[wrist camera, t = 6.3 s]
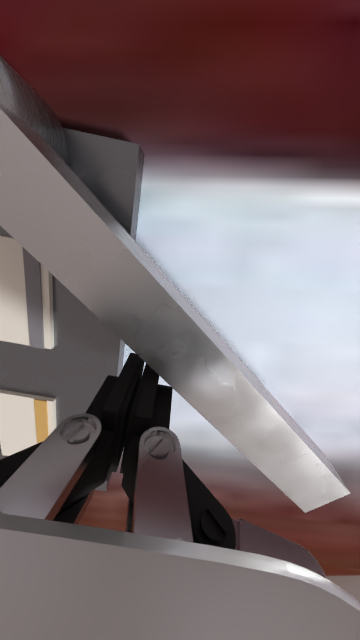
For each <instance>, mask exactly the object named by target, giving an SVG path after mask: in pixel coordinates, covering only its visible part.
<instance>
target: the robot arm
mask: <svg viewBox="0 0 360 640" xmlns="http://www.w3.org/2000/svg"><path fill="white" fill-rule="evenodd" d="M143 367H144V360H143V359H141V358H140V357H139V356H138V355H137V354H135V353H130V355H129V357H128V359H127V361H126V363H125V365H124V367H123V369H122V371H121V373H120V375H119V377H117V376H112V375H108V376H107V377H106V379H105V381H104V382H103V384H102V386H101V388H100V389H99V391H98V393H97V394H96V396H95V398H94V399H93V401H92V403H91V404H90V406H89V408H88V409H87V411H86V413H84V414H76V415H72V416H70V417H68V418H66V419H65V420H64V421H62V422H61V423H60V424H59V425H58V426H57V427H56V428H55V429H54V431H53V432H52V433H51V434H50V435H49V436H48V437H47V438H46V439H45V440H44V441H42V442H40V443H38V444H35V445H33V446H31V447H28V448H26V449H24V450H21V451H19V452H17V453H15V454H12V455H10V456H8V457H5V458H3V459H1V460H0V640H360V601H358V600H357V599H356V598H355V597H353V596H352V595H350V594H349V593H348V592H346V591H345V590H343V589H342V588H340V587H339V586H337V585H336V584H334V583H333V582H331V581H329V580H328V579H326V577H325V574H324V572H323V570H322V568H321V567H320V565H319V564H318V562H317V561H316V559H315V558H314V557H313V556H312V555H311V554H310V553H309V552H308V551H307V550H306V549H305V548H303V547H302V546H300V545H298V544H296V543H294V542H292V541H290V540H287V539H285V538H283V537H281V536H278V535H276V534H274V533H272V532H269V531H267V530H265V529H263V528H260V527H258V526H256V525H254V524H251V523H249V522H247V521H245V520H243V519H239V521H236V520H234V519H232V518H231V517H230V516H229V514H228V513H227V511H226V510H225V509H224V507H223V506H222V505H221V504H220V503H219V502H218V500H217V499H216V498H215V497H214V496H213V495H212V493H211V492H210V491H209V490H208V489H207V488H206V486H205V485H204V484H203V483H202V482H201V481H200V479H199V478H198V477H197V476H196V475H195V474H194V472H193V471H192V470H191V469H190V468H189V467H188V465H187V464H186V463H185V462H184V461H183V460H182V455H181V448H180V443H179V439H178V438H177V436H176V435H175V434H174V433H173V432H172V431H171V430H169V424H170V412H171V401H172V387H170V386H165V385H159V384H158V380H159V375H158V374H157V373H156V372H155V371H154V370H153V369H152V368H151V367H150V366H149V365H148V364H147V363H146V366H145V369H144V372H143ZM142 373H143V375H142ZM123 448H124V451H123ZM122 452H123V457H122V464H121V470H120V473H123V480H122V487H123V489H124V491H125V492H126V494H127V496H128V498H129V499H128V507H127V518H126V528H125V532H122V531H116V530H109V529H103V528H96V527H90V526H83V525H78V524H79V522H80V520H81V518H82V516H83V514H84V512H85V510H86V508H87V506H88V504H89V502H90V500H91V498H92V496H93V493H94V491H95V489H96V488H97V487H99V486H100V485H102V484H103V483H105V481H108V480H109V477H110V474H111V471H112V472H116V471H117V468H118V465H119V462H120V458H121V455H122Z"/></svg>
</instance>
